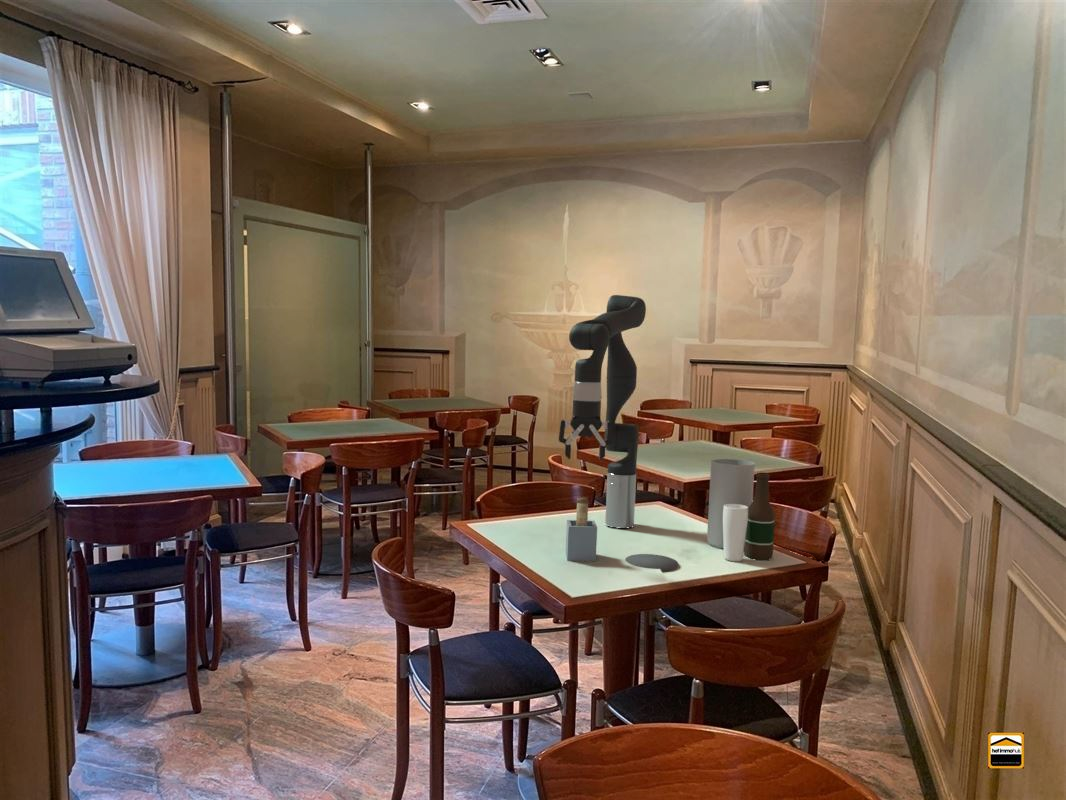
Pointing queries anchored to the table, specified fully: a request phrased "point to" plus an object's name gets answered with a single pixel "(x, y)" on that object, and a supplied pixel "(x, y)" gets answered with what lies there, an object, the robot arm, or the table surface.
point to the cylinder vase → (727, 493)
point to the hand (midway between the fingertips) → (584, 459)
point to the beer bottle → (760, 522)
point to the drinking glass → (734, 531)
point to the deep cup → (581, 541)
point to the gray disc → (652, 561)
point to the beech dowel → (582, 511)
